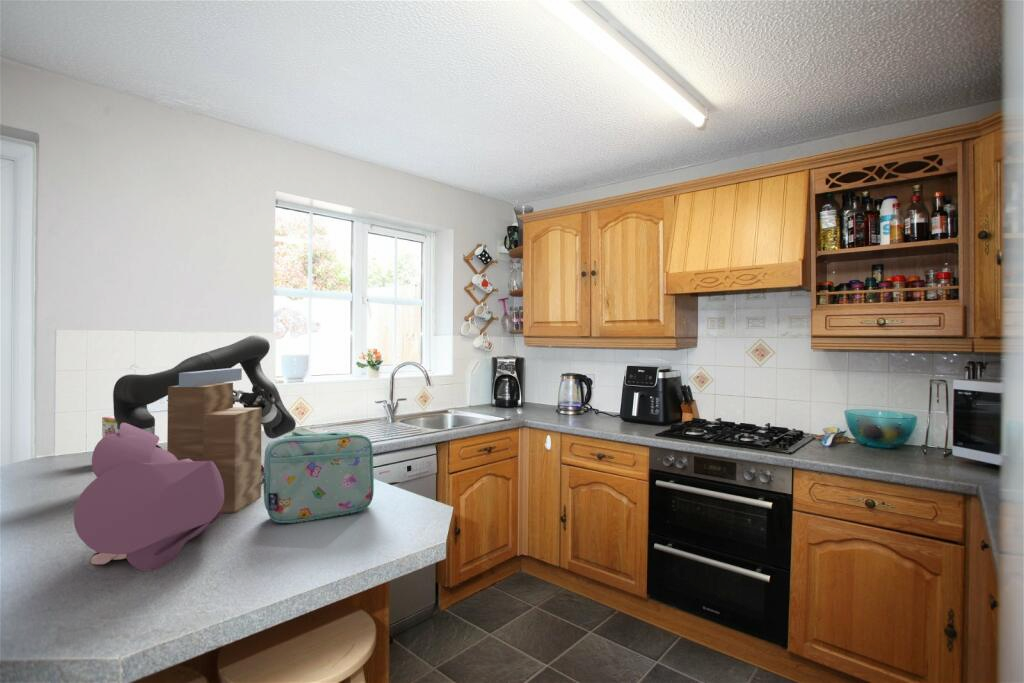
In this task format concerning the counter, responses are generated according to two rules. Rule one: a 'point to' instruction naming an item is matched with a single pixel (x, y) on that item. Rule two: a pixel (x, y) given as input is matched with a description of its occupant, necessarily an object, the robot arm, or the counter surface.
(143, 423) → the robot arm
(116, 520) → the mauve lumpy blob
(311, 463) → the lunch box
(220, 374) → the rail
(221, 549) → the counter surface
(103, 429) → the candy bar box
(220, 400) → the stand
